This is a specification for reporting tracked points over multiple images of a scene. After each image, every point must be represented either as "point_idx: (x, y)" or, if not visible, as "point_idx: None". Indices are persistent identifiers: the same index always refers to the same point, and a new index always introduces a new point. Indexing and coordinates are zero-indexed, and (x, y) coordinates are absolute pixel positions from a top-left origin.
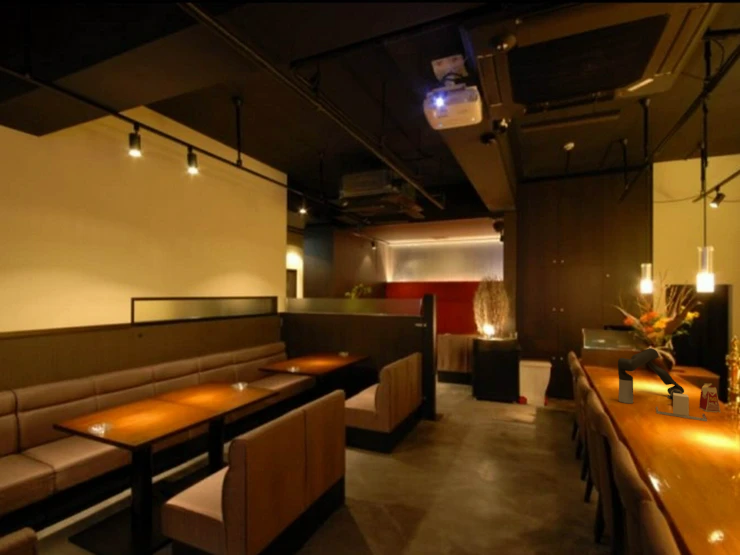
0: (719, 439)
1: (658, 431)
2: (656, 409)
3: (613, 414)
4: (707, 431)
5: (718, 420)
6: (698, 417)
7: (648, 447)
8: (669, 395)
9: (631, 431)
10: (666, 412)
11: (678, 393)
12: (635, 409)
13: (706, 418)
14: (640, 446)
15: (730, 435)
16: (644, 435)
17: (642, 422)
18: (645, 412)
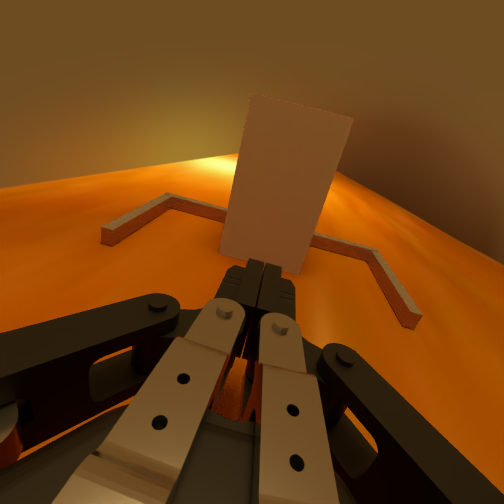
0: (219, 165)
1: (331, 191)
2: (388, 266)
3: (469, 247)
4: (224, 178)
5: (79, 204)
6: (198, 202)
7: (334, 176)
8: (492, 499)
9: (372, 196)
10: (333, 239)
11: (314, 108)
12: (476, 293)
13: (164, 195)
14: (343, 178)
15: (175, 165)
16: (348, 188)
17: (375, 213)
18: (414, 265)
